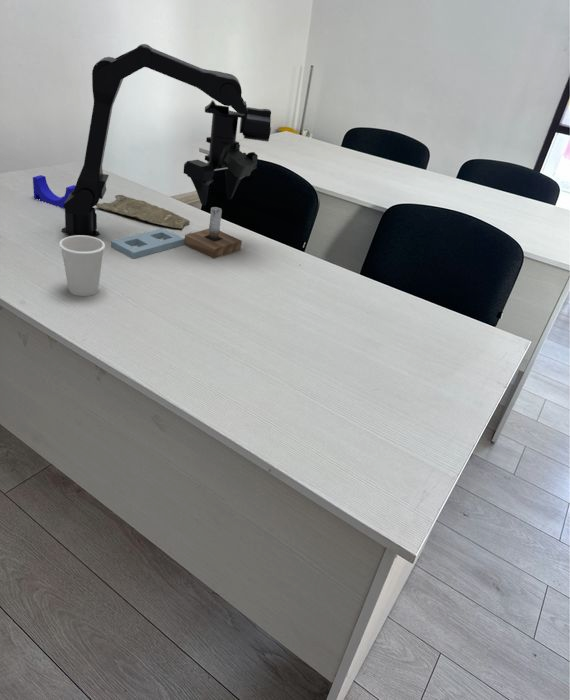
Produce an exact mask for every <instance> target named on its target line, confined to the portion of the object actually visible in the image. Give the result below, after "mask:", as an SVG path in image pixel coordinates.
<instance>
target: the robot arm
mask: <svg viewBox="0 0 570 700" xmlns="http://www.w3.org/2000/svg"><path fill="white" fill-rule="evenodd" d="M143 68H146V69H147V68H148V69H150V70H152V71H153V72H158V73H160V74H163V75H165V76H166V77H169V78H172V79H174V80H177V81H180V82H182V83H184V84H186V85H189V86H192V87H194V88H196V89H199V90H200V91H201V92H203V93H204V94H205V95H207V96H208V97H210V98H212V99H213V100H211V101H210V103H209V104H207V105H206V106H205V107H204V113H206V114H212V119H211V128H210V129H211V130H210V136H207V137H206V139H205V140H206V141H205V142H206V143H208V144H209V151H208V154H206V155H204V161H206V162H204V161H202V160H200V159H193V160H187V161H186V162H184V164H183V174H185V175H186V176H187V177H188V178H190V179H191V182H192V183H193V186H194V188H195V192H196V193H197V197H198V199H199V201H200V204H201V205H202V206H207V205H206V204H207V201H208V196H209V188H210V184H212V183H213V182H214V181H215V180H214V179H212V178H213V177H214V175H215V172H219V171H224V174H225V189H226V198H227V199H228V200H232V199H233V198H234V195H235V194H236V191H237V189H238V187H239V184H240V183H241V181H242V179H243V178H245V177H249V176H251V172H254V170H256V169H257V168H258V166H257V165H258V160H259V158H258V157H259V155H258V154H257V153H255V151H252V152H251V151H250V152H242V151H241V150H240V149H241V144H240V142H239V141H237V131H238V123H239V134H242V136H243V139H246V140H254V141H261V142H267V143H268V142H269V140H270V136H271V130H272V127H271V123H272V122H271V120H272V111H271V110H270V109H268V108H257V107H255V108H254V107H249V106H247V102H246V101H245V100H244V98H243V96H242V93H243V91H242V87H241V83H240V80H239V79H238V78H237V76H235V75H233V74H231V73H227V72H222V71H218V70H211V69H206V68H203V67H199V66H196V65H194V64H192V63H190V62H186V61H184V60H182V59H180V58H177V57H175V56H173V55H170V54H168V53H166V52H162V51H160V50H158V49H156V48H153V47H152V46H150V45H149V44H146V43H141V44H139V45H138V46H137V47H135V48H133V49H131V50H130V51H127V52H125V53H123V54H121V55H119V56H117V57H111V56H106V57H103V58H101V59H100V60H99V61H97V62H96V63H95V64H94V66H93V68H92V71H91V72H92V73H91V81H92V86H91V87H92V89H91V90H92V96H93V97H92V98H93V106H92V112H91V119H90V124H89V131H88V137H87V141H86V142H87V144H86V149H85V155H84V161H83V162H84V163H83V166H82V169H81V170H80V173H79V176H78V178H77V181H76V184H75V188H74V191H73V192H71V193H70V195H69V197H68V198H67V200H66V201H65V203H64V205H63V206H64V208H65V209H64V208H63V209H64V224H65V225H64V227H63V228H61V232H62V233H64V234H66V235H68V236H76V235H84V236H91V237H95V236H99V235H100V231H99V230H98V226H97V225H98V224H97V223H98V222H97V220H98V219H97V213H96V208H95V207H96V205H97V203H99V201H100V200H103V199H104V195H105V194H106V191H107V187H106V185H107V181H108V179H109V174H105V173H104V171H103V163H104V157H105V151H106V146H107V141H108V140H107V139H108V135H109V134H108V133H109V129H110V123H111V118H112V113H113V108H114V107H113V106H114V103H115V101H116V98H117V96H118V94H119V92H120V89H121V86H122V83H123V81H124V79H125V78H127V77H129V76H131V75H132V74H134V73H136V72H138V71H140V70H141V69H143ZM215 101H216V102H217V103H219V104H220V105H219V104H216V102H215ZM230 107H231V108H232V109H233V110H234V111H232V110H230ZM239 118H240V121H239ZM207 162H208V163H207ZM94 206H95V207H94Z"/></svg>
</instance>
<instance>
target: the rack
mask: <svg viewBox="0 0 570 700" xmlns="http://www.w3.org/2000/svg"><path fill="white" fill-rule="evenodd" d="M160 239H162V240H160ZM184 241H185V237H182V236H180V235H178V234H176V233H174V232H171V231H169V230H167V229H165V228H163V227H162V228H157V229H154V230H149V231H145V232H141V233H136V234H133V235H129V236H124V237H122V238H117V239H113V240H111V241H110V247H111V248H113V249H115V250H117V251H118V252H121V253H122V254H124V255H126V256H127V257H130V258H131V259H137V258H142V257H145V256H149V255H151V254H152V255H153V254H155V253H159V252H162V251H166V250H169V249H172V248H177V247H180V246H183V245H184ZM136 245H137V246H138V247H137V246H136ZM134 246H136V247H134ZM184 246H185V245H184Z"/></svg>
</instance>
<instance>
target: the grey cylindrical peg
mask: <svg viewBox="0 0 570 700" xmlns="http://www.w3.org/2000/svg"><path fill="white" fill-rule="evenodd" d="M222 213H223V209H222V208H221V207H217V206H213V207H211V208H210V216H209V224H208V226H209V227H208V229H209V236H208V239H209V240H211V241H213V242H215V241H218V240H219V232H220V231H221V221H222Z"/></svg>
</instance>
